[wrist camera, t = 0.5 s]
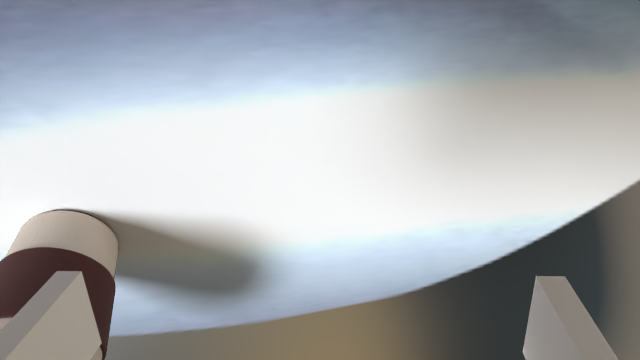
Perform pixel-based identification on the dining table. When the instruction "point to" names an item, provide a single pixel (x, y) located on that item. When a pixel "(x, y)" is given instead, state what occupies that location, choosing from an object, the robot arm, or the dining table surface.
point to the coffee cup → (61, 264)
